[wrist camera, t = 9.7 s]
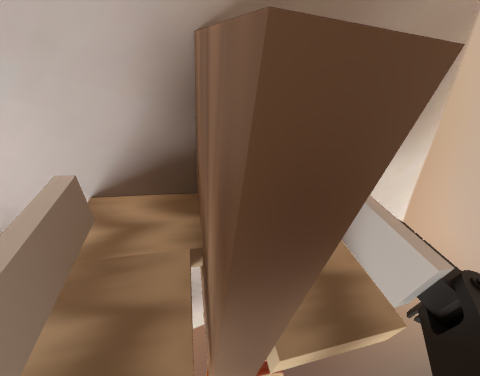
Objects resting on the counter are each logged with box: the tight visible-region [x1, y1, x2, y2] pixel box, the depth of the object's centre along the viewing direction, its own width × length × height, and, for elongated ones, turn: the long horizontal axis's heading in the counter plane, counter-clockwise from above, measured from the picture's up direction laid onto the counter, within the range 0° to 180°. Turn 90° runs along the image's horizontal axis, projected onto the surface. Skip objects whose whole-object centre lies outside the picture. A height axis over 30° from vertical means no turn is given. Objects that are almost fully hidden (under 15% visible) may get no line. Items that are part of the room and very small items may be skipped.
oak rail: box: [20, 193, 407, 376], centre depth 13 cm, size 18×2×12 cm, turn 83°
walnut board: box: [194, 7, 465, 376], centre depth 11 cm, size 2×16×12 cm, turn 173°
